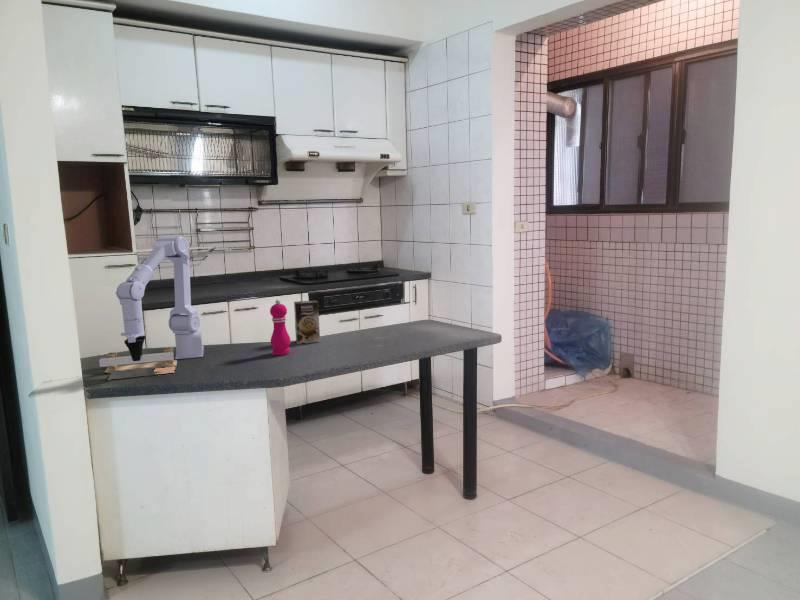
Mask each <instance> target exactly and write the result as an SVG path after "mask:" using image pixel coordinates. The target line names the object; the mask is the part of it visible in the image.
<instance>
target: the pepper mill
mask: <svg viewBox="0 0 800 600" xmlns="http://www.w3.org/2000/svg"><path fill="white" fill-rule="evenodd" d="M274 302H275V303H274V304H273V305H272V306H271V307H270V309H269V313H270V316H272V317H271V322H272V323H273V331H272V334H271V337H270V346H271V347H272V348H273V349H272V355H273V356H275V355H283V356H286V355H285V354H288V353H290V354H291V348H290V345H291V342H292V340H291V337H290V335H289V333H288V330H287V328H286V321H287V317H286V315H287V314H288V310H287V307H286V305H285V304H283V303H281V300H280V299H276V300H275V301H274ZM288 355H289V354H288Z"/></svg>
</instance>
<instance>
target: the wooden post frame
mask: <svg viewBox="0 0 800 600" xmlns="http://www.w3.org/2000/svg"><path fill="white" fill-rule="evenodd" d="M167 352H173V356H174V355H175V354H174V347H173V346H168V347H167V346H166V347H164V350H163V353H167ZM107 354H108V355H105V358H113V357H118V355H117V354H118V353H117V351H112V352H111V351H110V352H108V353H107ZM174 357H175V356H174ZM177 363H178V359H175V358H174V359H173V360H166V361H156V362H146V363H136V364H125V365H115V366H106V369H105V371H104V373H105V372H111V371H125V370H134V369H145V368H161V367H175V366H176V367H177ZM176 367H175V368H176Z"/></svg>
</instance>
